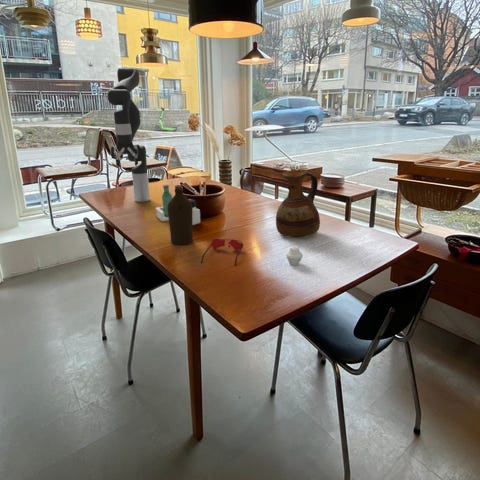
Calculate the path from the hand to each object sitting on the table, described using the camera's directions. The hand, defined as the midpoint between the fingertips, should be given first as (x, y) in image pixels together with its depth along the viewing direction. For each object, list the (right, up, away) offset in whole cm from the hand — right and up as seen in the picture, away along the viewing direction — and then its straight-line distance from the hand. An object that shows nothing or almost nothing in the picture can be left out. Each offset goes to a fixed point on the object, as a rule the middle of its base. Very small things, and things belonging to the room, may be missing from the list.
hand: (127, 166), depth 187 cm
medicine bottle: (+32, -29, 0) cm, 43 cm away
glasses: (+50, -45, -39) cm, 78 cm away
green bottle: (+19, -24, +9) cm, 32 cm away
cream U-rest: (+19, -25, +10) cm, 33 cm away
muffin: (+78, -47, -46) cm, 102 cm away
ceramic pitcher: (+84, -35, -15) cm, 92 cm away
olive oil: (+32, -38, -24) cm, 55 cm away
